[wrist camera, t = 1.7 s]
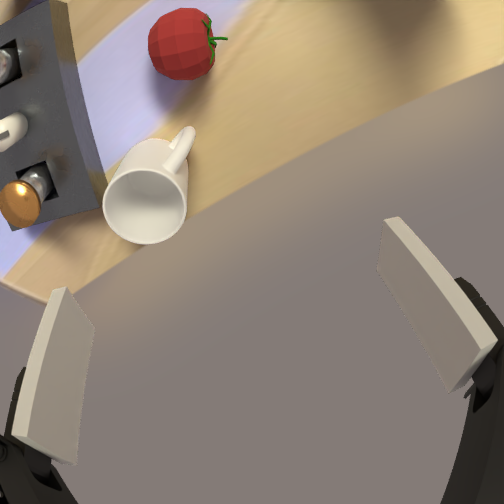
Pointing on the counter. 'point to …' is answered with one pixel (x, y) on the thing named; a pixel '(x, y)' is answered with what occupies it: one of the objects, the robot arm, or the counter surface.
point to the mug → (150, 190)
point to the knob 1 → (9, 64)
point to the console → (50, 113)
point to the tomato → (182, 44)
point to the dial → (12, 130)
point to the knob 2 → (26, 196)
